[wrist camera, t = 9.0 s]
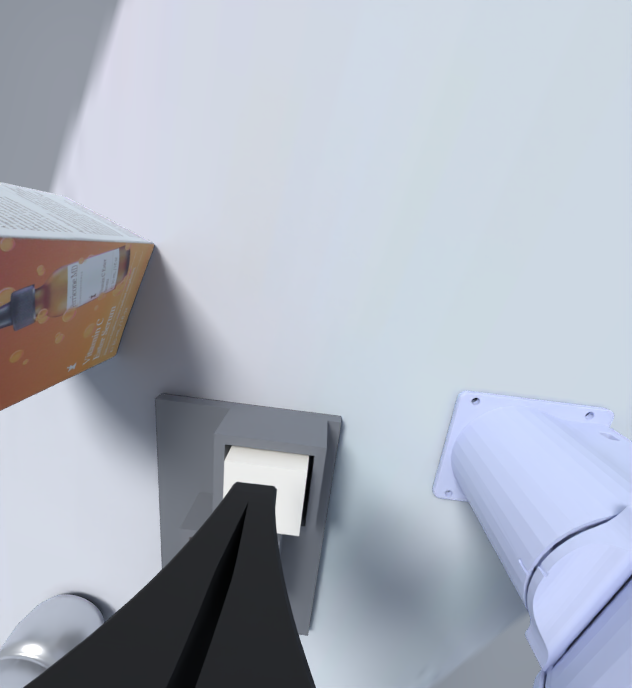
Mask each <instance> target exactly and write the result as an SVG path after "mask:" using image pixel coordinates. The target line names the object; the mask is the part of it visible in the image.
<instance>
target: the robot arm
mask: <svg viewBox="0 0 632 688" xmlns="http://www.w3.org/2000/svg"><path fill="white" fill-rule="evenodd" d="M474 398H477V401H475V402H471V401H472V399H474ZM588 412H589V414H588V415H587V416H585V415H586V414H587V413H588ZM613 419H614V413H613V412H612V411H610V410H609V409H607V408H602V407H594V406H586V405H578V404H570V403H562V402H554V401H546V400H538V399H530V398H522V397H514V396H506V395H497V394H489V393H481V392H473V391H463V392H461V393H460V394H459V395H458V397H457V401H456V404H455V408H454V412H453V415H452V419H451V423H450V426H449V430H448V434H447V437H446V441H445V445H444V448H443V452H442V455H441V459H440V463H439V466H438V470H437V474H436V477H435V481H434V485H433V493H434V495H435V496H436V497H438V498H443V499H451V500H459V501H467V502H469V504H470V505H471V507H472V509H473V511H474V513H475V515H476V516H477V518H478V520H479V522H480V524H481V526H482V528H483V529H484V531H485V533H486V535H487V537H488V539H489V541H490V542H491V544H492V546H493V548H494V550H495V552H496V554H497V555H498V557H499V559H500V561H501V563H502V565H503V566H504V568H505V570H506V572H507V574H508V576H509V578H510V579H511V581H512V583H513V585H514V587H515V589H516V591H517V592H518V594H519V596H520V598H521V600H522V602H523V603H524V605H525V607H526V609H527V611H528V612H529V614H530V625H529V628H528V629H527V631H526V633H525V636H526V638H527V640H528V642H529V644H530V646H531V648H532V650H533V652H534V654H535V656H536V658H537V660H538V662H539V664H540V666H541V668H542V670H540V672H539V673H538V675H537V676H536V678H535V681H534V685H533V688H632V441H631V440H629V439H628V438H626V437H624V436H623V435H621V434H620V433H618V432H617V431H615V430H614V429H612V428H610V425H611V423H612V421H613ZM448 490H450V491H449V492H446V491H448ZM276 496H277V489H276V488H275V486H270V485H261V484H252V483H244V482H236V483H234V484H233V485H232V487H231V488H230V490H229V491H228V493H227V494H226V496H225V497H224V498H223V500H222V501H221V502H220V504H219V505H218V506H217V508H216V509H215V510H214V511H213V513H212V514H211V515H210V517H209V518H208V519H207V520H206V521H205V523H204V524H203V525H202V526H201V527H200V528H199V530H198V531H197V532H196V533H195V534H194V536H193V537H192V538H191V539H190V540H189V541H188V542H187V543H186V545H185V546H184V547H183V548H182V549H181V550H180V551H179V552H178V553H177V554H176V555H175V556H174V558H173V559H172V560H171V561H170V562H169V563H168V564H167V565H166V566H165V567H164V568H163V569H162V570H161V571H160V572H159V573H158V574H157V575H156V576H155V577H154V578H153V579H152V580H151V581H150V582H149V583H148V584H147V585H146V586H145V587H144V588H143V589H142V590H140V591H139V592H138V593H137V594H136V595H135V596H134V597H133V598H132V599H131V600H130V601H129V602H127V603H126V604H125V605H124V606H123V607H122V608H121V609H120V610H118V611H117V612H116V613H115V614H114V615H113V616H112V617H111V618H109V619H108V620H107V621H106V622H105V623H104V624H102V625H101V626H100V627H99V628H98V629H97V630H95V631H94V632H93V633H92V634H91V635H89V636H88V637H87V638H86V639H85V640H83V641H82V642H81V643H79V644H78V645H77V646H76V647H74V648H73V649H72V650H71V651H69V652H68V653H67V654H66V655H64V656H63V657H62V658H60V659H59V660H58V661H57V662H55V663H54V664H53V665H52V666H50V667H49V668H48V669H47V670H45V671H44V672H43V673H41V674H40V675H39V676H38V677H36V678H35V679H34V680H32V681H31V682H30V683H28V684H27V685H26V686H24V687H23V688H316V687H315V684H314V681H313V678H312V675H311V672H310V669H309V666H308V663H307V659H306V656H305V653H304V650H303V647H302V644H301V641H300V638H299V634H298V631H297V627H296V624H295V620H294V617H293V613H292V609H291V605H290V601H289V597H288V593H287V588H286V584H285V579H284V574H283V569H282V564H281V558H280V552H279V545H278V537H277V529H276V514H275V506H276Z"/></svg>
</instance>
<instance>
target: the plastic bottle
mask: <svg viewBox="0 0 632 688" xmlns="http://www.w3.org/2000/svg"><path fill="white" fill-rule="evenodd" d="M102 624H104V619H103V616H102V614H101V612H100V610H99V609H98V608H97V607H96V606H95V605H94V604H93V603H91V602H90V601H88V600H87V599H84V598H82V597H79V596H76V595H70V594H62V595H57V596H54V597H52V598H50V599H48V600H46V601H44V602H42V603H40V604H39V605H37V606H36V607H35V608H34V609H33V610H32V611H31V612H30V613H29V614H28V615H27V616H26V617H25V618H24V619H23V620H22V621H21V622H20V623H19V624H18V625H17V626H16V627H15V629H14V630H13V632H12V633H11V634H10V636H9V637H8V639H7V640H6V642H5V643H4V644H3V646H2V647H1V649H0V688H23V687H24V686H26V685H27V684H28V683H30V682H31V681H32V680H34V679H35V678H36V677H38V676H39V675H40V674H41V673H43V672H44V671H45V670H47V669H48V668H49V667H50V666H52V665H53V664H54V663H55V662H57V661H58V660H59V659H60V658H62V657H63V656H64V655H66V654H67V653H68V652H69V651H71V650H72V649H73V648H74V647H76V646H77V645H78V644H79V643H81V642H82V641H83V640H85V639H86V638H87V637H88V636H89V635H91V634H92V633H93V632H94V631H95V630H97V629H98V628H99V627H100V626H101V625H102Z"/></svg>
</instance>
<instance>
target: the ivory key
mask: <svg viewBox="0 0 632 688" xmlns="http://www.w3.org/2000/svg"><path fill="white" fill-rule="evenodd" d="M308 461H309V455H304V454H296V453H288V452H281V451H273V450H265V449H257V448H249V447H241V446H234V445H232V447H231V449H230V451H229V453H228V455H227V457H226V459H225V461H224V485H223V498H224V497H225V496H226V494H227V493H228V491H229V490H230V488H231V487H232V485H233V484H234V483H236V482H244V483H252V484H261V485H270V486H275V488H276V489H277V496H276V506H275V514H276V529H277V533H279V534H286V535H294V536H299V533H300V525H301V517H302V510H303V502H304V494H305V486H306V478H307V470H308Z"/></svg>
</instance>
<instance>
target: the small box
mask: <svg viewBox="0 0 632 688" xmlns="http://www.w3.org/2000/svg"><path fill="white" fill-rule="evenodd" d="M153 249H154V244H153V243H152V242H151V241H149V240H147V239H145V238H144V237H142V236H140V235H138V234H136V233H135V232H133V231H131V230H129V229H127V228H125V227H123V226H121V225H120V224H118V223H116V222H114V221H112V220H110V219H108V218H106V217H104V216H103V215H101V214H99V213H97V212H95V211H93V210H91V209H89V208H88V207H86V206H84V205H82V204H80V203H78V202H76V201H74V200H72V199H70V198H68V197H66V196H63V195H58V194H53V193H48V192H44V191H39V190H34V189H30V188H25V187H20V186H15V185H11V184H6V183H1V182H0V411H1V410H3V409H5V408H7V407H9V406H11V405H14V404H16V403H18V402H20V401H22V400H24V399H26V398H28V397H30V396H32V395H35V394H37V393H39V392H41V391H43V390H45V389H47V388H49V387H51V386H54V385H55V384H57V383H60V382H62V381H64V380H66V379H68V378H71V377H73V376H75V375H77V374H79V373H81V372H83V371H85V370H87V369H89V368H91V367H94V366H96V365H98V364H100V363H102V362H104V361H106V360H108V359H110V358H112V357H114V356H115V355H116V353H117V349H118V346H119V343H120V339H121V336H122V333H123V330H124V327H125V324H126V322H127V319H128V316H129V313H130V310H131V308H132V305H133V302H134V300H135V297H136V294H137V291H138V289H139V286H140V283H141V281H142V278H143V275H144V272H145V270H146V267H147V264H148V261H149V259H150V257H151V254H152V251H153Z"/></svg>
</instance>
